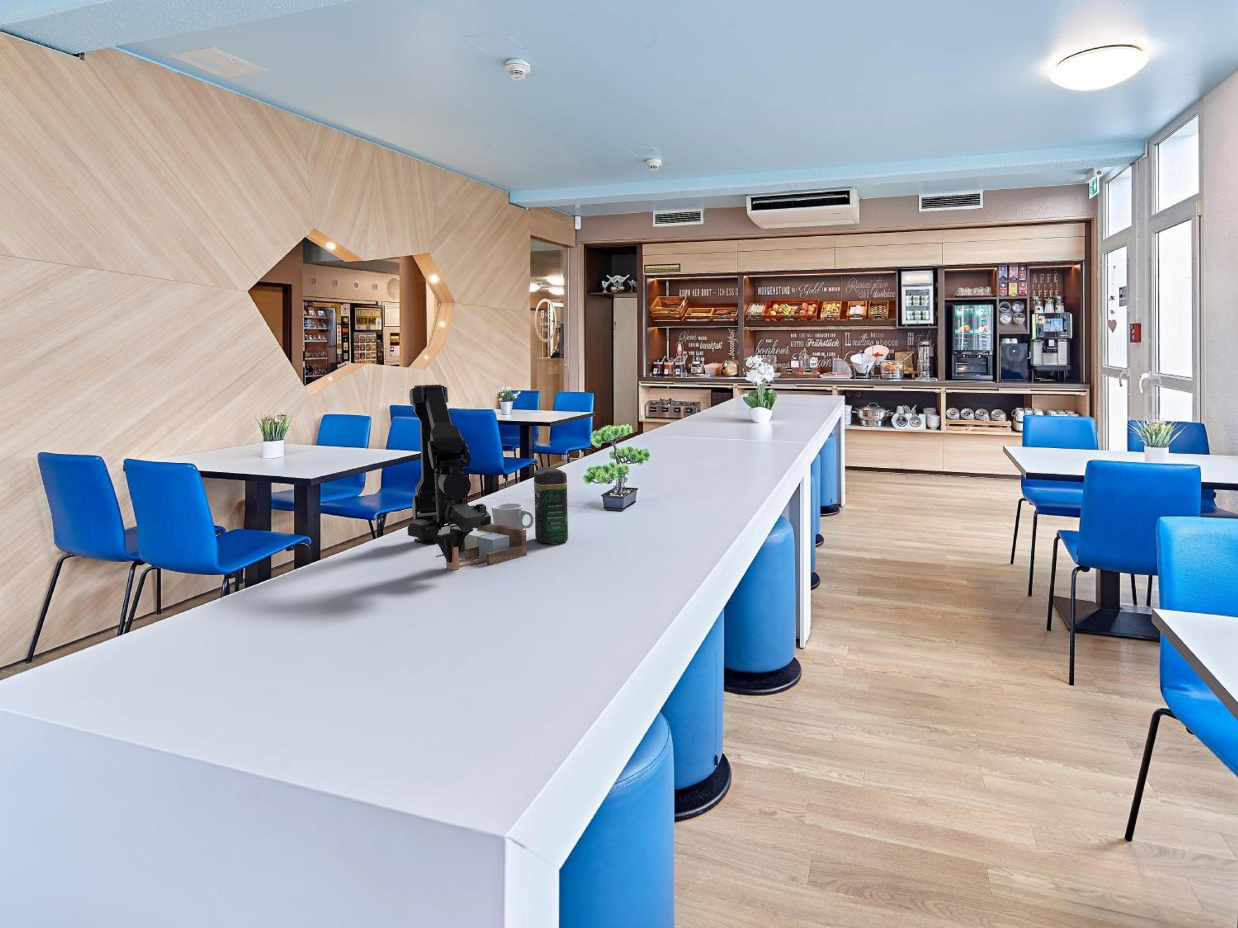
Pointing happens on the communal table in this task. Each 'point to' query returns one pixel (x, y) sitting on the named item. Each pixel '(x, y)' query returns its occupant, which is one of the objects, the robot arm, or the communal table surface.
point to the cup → (511, 515)
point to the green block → (474, 537)
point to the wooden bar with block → (480, 549)
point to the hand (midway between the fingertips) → (452, 561)
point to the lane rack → (514, 551)
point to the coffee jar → (550, 505)
